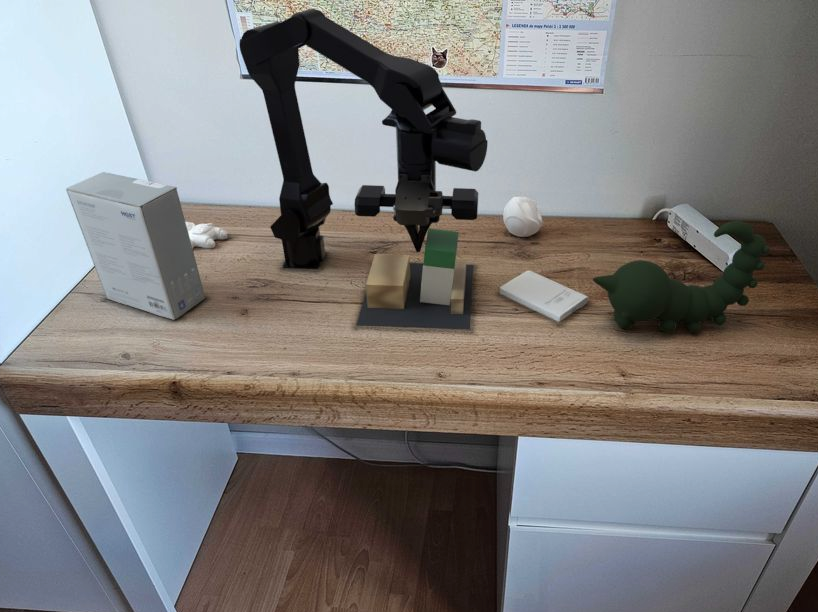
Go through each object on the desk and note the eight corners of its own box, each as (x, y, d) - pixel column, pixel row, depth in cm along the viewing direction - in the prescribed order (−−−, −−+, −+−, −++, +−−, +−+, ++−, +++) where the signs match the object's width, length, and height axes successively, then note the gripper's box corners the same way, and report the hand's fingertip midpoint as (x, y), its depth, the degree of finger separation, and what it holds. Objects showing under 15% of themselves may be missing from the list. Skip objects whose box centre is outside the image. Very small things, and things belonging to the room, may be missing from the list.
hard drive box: (208, 298, 112) (179, 187, 100) (175, 322, 107) (140, 207, 95) (138, 278, 118) (103, 169, 105) (104, 299, 112) (62, 187, 100)
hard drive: (528, 277, 118) (587, 303, 112) (498, 295, 113) (558, 324, 107) (529, 269, 117) (588, 295, 111) (499, 287, 112) (559, 315, 106)
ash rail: (450, 314, 108) (450, 298, 106) (454, 275, 118) (454, 260, 116) (463, 314, 108) (463, 299, 106) (466, 276, 118) (466, 261, 116)
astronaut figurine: (204, 255, 124) (200, 240, 122) (154, 242, 128) (150, 228, 126) (234, 235, 130) (231, 220, 128) (186, 223, 134) (182, 209, 132)
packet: (395, 287, 109) (432, 238, 103) (400, 265, 114) (436, 217, 108) (441, 314, 111) (480, 268, 106) (444, 292, 117) (481, 246, 111)
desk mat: (356, 327, 106) (356, 325, 106) (375, 263, 122) (374, 261, 122) (469, 331, 105) (469, 329, 105) (473, 266, 121) (473, 264, 121)
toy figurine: (718, 313, 112) (574, 307, 109) (761, 209, 101) (601, 200, 98) (742, 346, 105) (588, 341, 102) (790, 239, 93) (618, 229, 91)
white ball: (542, 244, 128) (546, 207, 123) (503, 244, 128) (505, 206, 123) (538, 225, 134) (542, 189, 129) (501, 225, 134) (503, 188, 129)
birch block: (367, 307, 110) (365, 284, 107) (376, 276, 118) (374, 253, 115) (404, 309, 109) (402, 285, 107) (410, 277, 117) (409, 254, 114)
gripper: (343, 177, 93) (352, 274, 102) (477, 181, 92) (474, 279, 101) (357, 148, 102) (364, 240, 111) (479, 152, 101) (476, 244, 110)
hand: (418, 251), depth 108 cm, fingers closed
